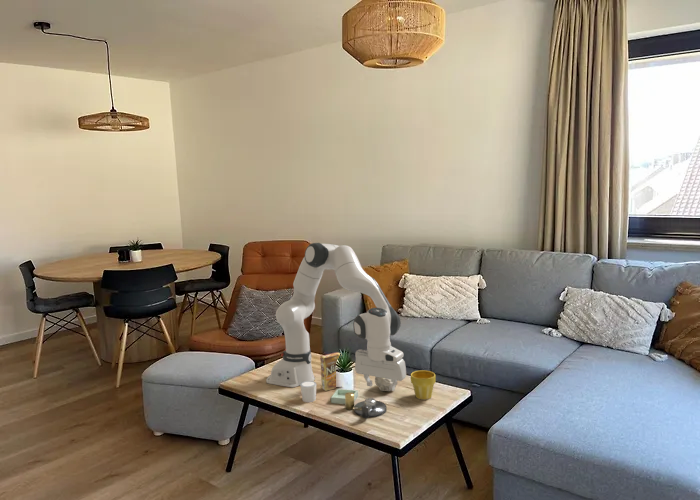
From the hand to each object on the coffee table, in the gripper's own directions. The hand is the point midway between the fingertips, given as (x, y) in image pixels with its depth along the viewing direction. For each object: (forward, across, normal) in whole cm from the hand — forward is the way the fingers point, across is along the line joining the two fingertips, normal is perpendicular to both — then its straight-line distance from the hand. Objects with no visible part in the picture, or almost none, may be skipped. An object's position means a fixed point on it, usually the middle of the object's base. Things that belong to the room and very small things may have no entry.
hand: (380, 387), depth 197 cm
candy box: (+14, -36, +20) cm, 44 cm away
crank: (+13, -9, +5) cm, 16 cm away
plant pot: (+14, +4, +30) cm, 34 cm away
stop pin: (+14, -18, +6) cm, 24 cm away
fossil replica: (+14, -14, +30) cm, 36 cm away
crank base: (+14, -10, +8) cm, 19 cm away
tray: (+14, -24, +12) cm, 31 cm away
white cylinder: (+14, -38, +5) cm, 41 cm away
